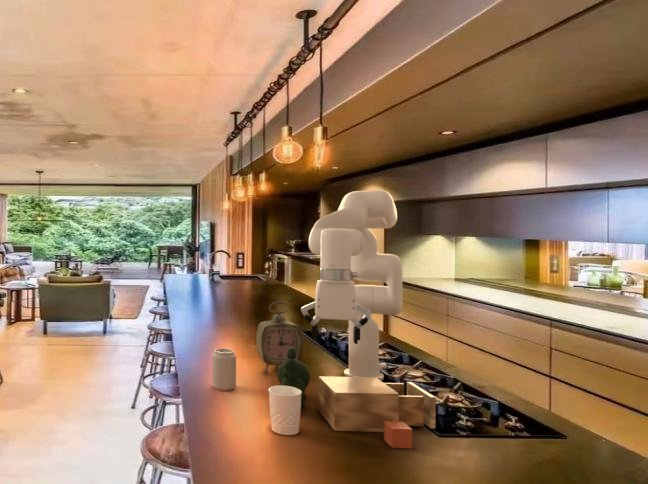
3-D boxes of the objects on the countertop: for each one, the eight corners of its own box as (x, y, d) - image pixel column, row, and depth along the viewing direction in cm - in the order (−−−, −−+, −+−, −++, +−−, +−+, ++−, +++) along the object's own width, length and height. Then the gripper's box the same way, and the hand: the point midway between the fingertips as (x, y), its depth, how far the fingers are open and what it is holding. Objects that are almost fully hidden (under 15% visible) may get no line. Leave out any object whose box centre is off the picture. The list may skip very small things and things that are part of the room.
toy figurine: (309, 424, 128) (310, 387, 151) (309, 355, 126) (310, 329, 149) (272, 420, 131) (279, 384, 154) (272, 352, 129) (279, 327, 153)
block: (402, 440, 114) (403, 421, 114) (412, 448, 110) (412, 429, 110) (383, 439, 115) (383, 420, 115) (392, 448, 110) (392, 428, 110)
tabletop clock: (261, 375, 167) (261, 303, 167) (255, 367, 176) (255, 299, 176) (302, 375, 167) (302, 303, 167) (294, 367, 176) (294, 299, 176)
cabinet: (375, 411, 132) (375, 377, 132) (398, 432, 119) (398, 393, 119) (318, 410, 133) (318, 376, 133) (334, 430, 120) (334, 392, 120)
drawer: (426, 410, 131) (426, 382, 131) (453, 428, 119) (453, 397, 119) (357, 409, 132) (357, 380, 132) (376, 427, 120) (376, 396, 120)
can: (235, 384, 157) (235, 347, 157) (237, 391, 149) (237, 353, 149) (212, 383, 157) (212, 347, 157) (212, 391, 150) (212, 352, 150)
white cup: (301, 426, 123) (301, 387, 123) (301, 438, 115) (301, 397, 115) (270, 422, 125) (270, 384, 125) (267, 434, 118) (267, 393, 118)
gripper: (370, 276, 126) (369, 341, 126) (301, 274, 131) (300, 336, 131) (374, 278, 119) (373, 347, 118) (300, 275, 124) (300, 342, 124)
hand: (335, 341), depth 125 cm, fingers open, 9 cm apart
